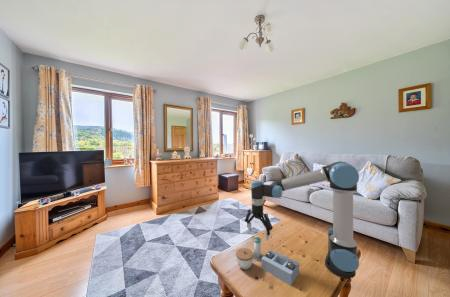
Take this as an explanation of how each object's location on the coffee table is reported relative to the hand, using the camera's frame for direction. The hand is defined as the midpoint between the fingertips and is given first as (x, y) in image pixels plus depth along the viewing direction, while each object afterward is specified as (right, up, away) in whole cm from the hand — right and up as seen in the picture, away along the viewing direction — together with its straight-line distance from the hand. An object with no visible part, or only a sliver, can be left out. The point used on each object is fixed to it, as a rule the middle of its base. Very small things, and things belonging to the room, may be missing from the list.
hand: (258, 236), depth 109 cm
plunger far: (+6, -11, -8) cm, 15 cm away
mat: (0, -14, 0) cm, 14 cm away
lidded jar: (-10, -14, -8) cm, 19 cm away
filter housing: (+10, -14, -12) cm, 21 cm away
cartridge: (0, -13, 0) cm, 13 cm away
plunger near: (+15, -11, -17) cm, 25 cm away
